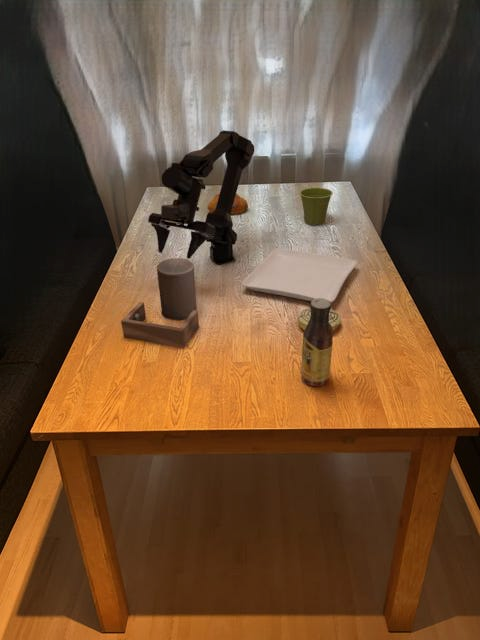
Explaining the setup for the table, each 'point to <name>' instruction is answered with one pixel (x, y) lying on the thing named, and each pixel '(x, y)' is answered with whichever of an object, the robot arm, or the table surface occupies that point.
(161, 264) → the pillar candle
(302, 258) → the square plate
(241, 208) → the croissant
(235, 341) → the table surface
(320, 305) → the sauce bottle
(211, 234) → the robot arm
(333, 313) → the decorated donut
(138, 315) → the holder
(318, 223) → the plant pot
